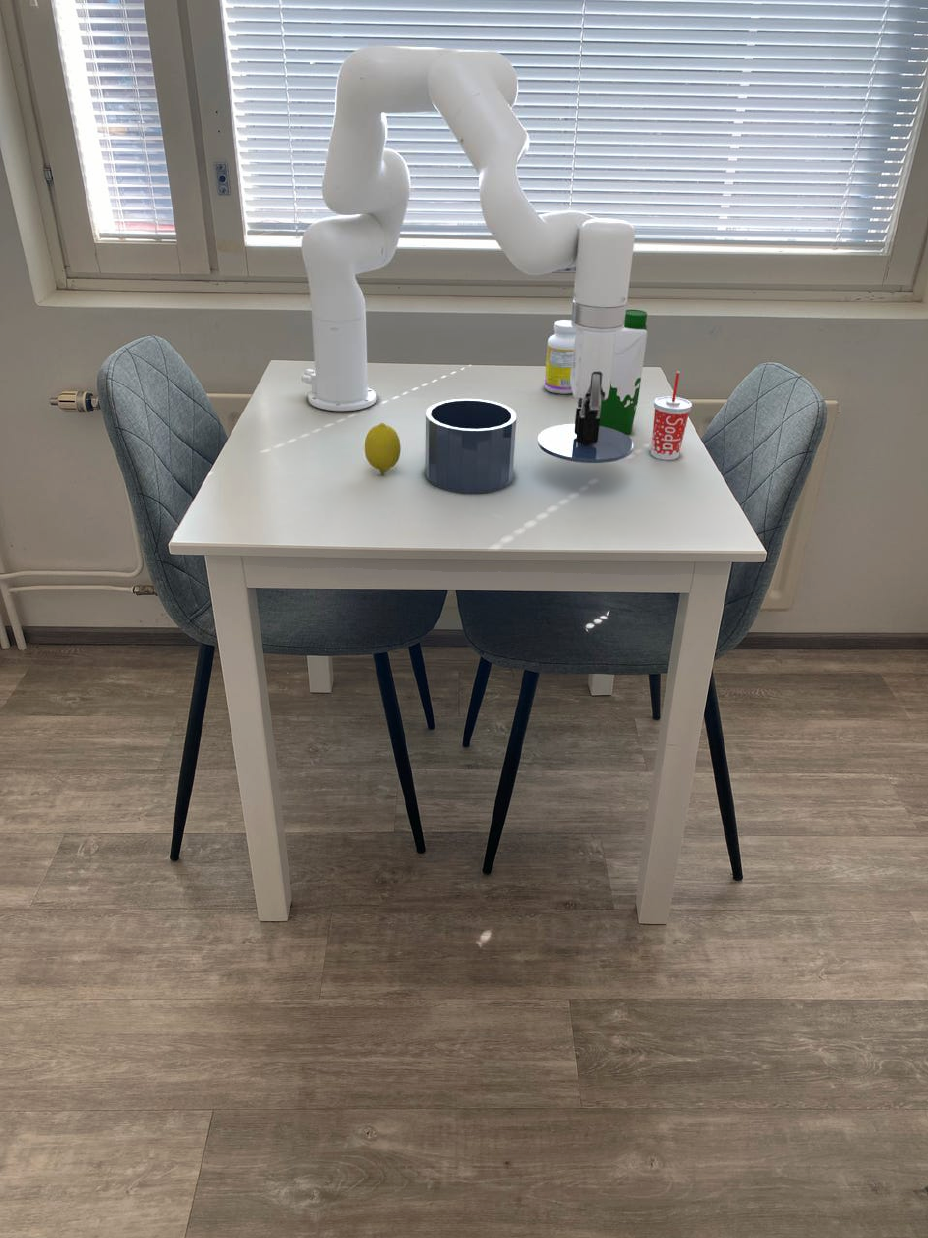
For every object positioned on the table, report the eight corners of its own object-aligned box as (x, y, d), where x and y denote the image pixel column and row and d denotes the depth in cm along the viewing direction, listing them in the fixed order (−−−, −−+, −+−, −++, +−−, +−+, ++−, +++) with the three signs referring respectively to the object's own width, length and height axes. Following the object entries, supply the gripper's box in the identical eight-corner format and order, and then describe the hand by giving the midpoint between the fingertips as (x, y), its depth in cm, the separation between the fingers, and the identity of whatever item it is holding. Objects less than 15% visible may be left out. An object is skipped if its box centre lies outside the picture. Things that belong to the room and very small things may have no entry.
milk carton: (636, 436, 157) (653, 319, 146) (584, 434, 157) (597, 317, 146) (630, 418, 164) (645, 306, 153) (581, 416, 164) (592, 304, 153)
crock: (422, 491, 135) (423, 428, 129) (428, 456, 146) (429, 396, 141) (512, 495, 135) (517, 432, 129) (511, 460, 146) (515, 400, 141)
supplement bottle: (555, 381, 181) (561, 316, 174) (584, 388, 177) (591, 322, 170) (537, 389, 176) (542, 323, 169) (566, 397, 173) (573, 329, 166)
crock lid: (538, 465, 131) (541, 427, 128) (535, 429, 144) (538, 393, 141) (638, 468, 131) (643, 431, 128) (626, 432, 144) (631, 397, 140)
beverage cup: (643, 458, 149) (655, 374, 141) (649, 445, 154) (662, 364, 146) (680, 464, 147) (694, 380, 139) (685, 450, 152) (700, 369, 144)
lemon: (395, 481, 138) (394, 431, 133) (360, 477, 139) (359, 427, 134) (404, 467, 142) (404, 418, 138) (371, 463, 143) (369, 415, 139)
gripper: (567, 300, 134) (557, 418, 143) (577, 329, 120) (565, 458, 130) (617, 301, 134) (604, 420, 143) (633, 331, 120) (616, 459, 130)
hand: (585, 437), depth 137 cm, fingers closed on crock lid, 2 cm apart
